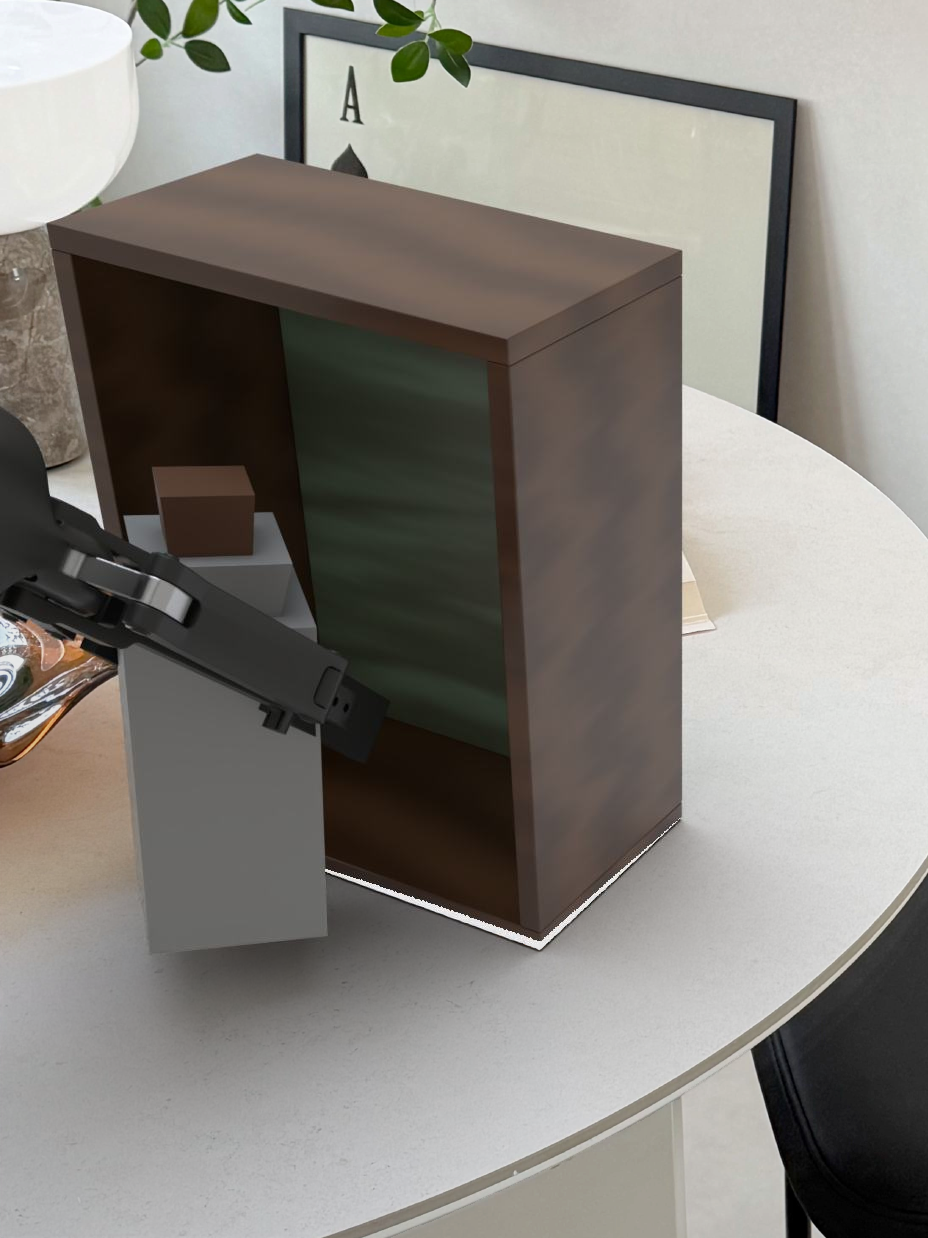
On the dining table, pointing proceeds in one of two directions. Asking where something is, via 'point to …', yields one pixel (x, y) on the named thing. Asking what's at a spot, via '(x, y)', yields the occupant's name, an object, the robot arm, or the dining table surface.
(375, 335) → the cabinet
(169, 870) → the perfume bottle
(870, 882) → the dining table surface
